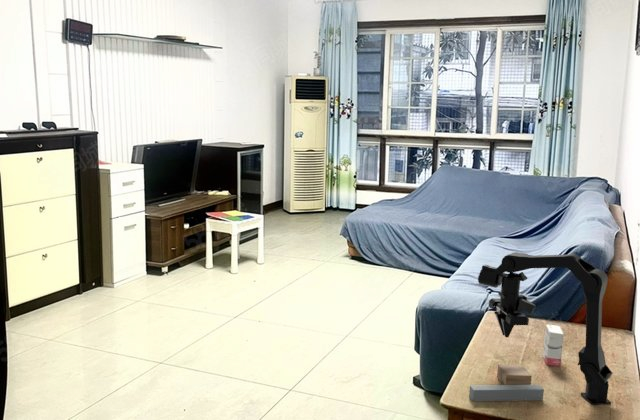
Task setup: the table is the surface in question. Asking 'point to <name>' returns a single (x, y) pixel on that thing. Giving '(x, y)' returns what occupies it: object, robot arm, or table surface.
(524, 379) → the walnut block
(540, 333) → the table surface
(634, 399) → the table surface
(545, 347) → the ink box
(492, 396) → the grey board
